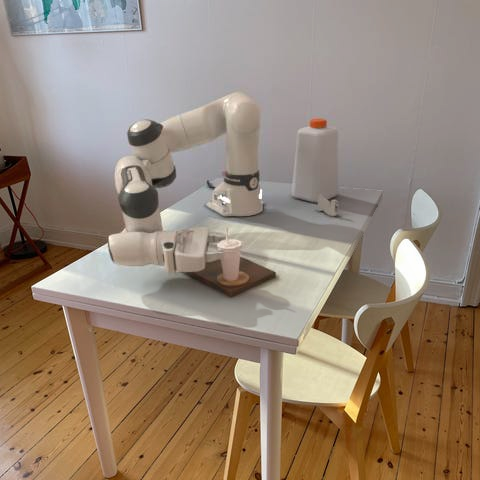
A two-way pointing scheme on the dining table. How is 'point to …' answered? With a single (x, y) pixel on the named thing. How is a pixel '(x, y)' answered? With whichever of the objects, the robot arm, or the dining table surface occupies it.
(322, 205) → the duck shaped cutout
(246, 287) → the serving board
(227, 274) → the smoothie
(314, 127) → the plastic bottle
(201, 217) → the dining table surface
